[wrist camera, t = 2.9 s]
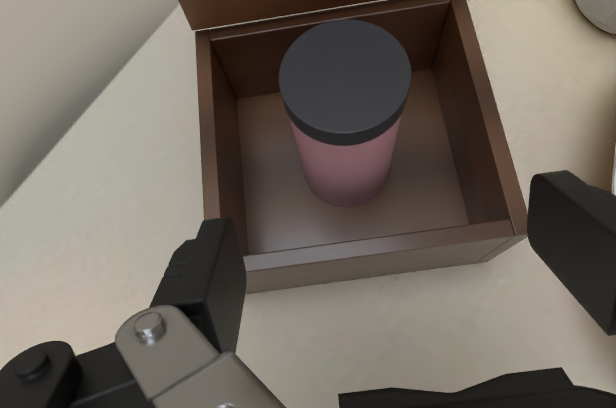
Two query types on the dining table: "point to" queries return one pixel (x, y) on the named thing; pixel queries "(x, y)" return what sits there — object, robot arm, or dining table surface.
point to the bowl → (614, 175)
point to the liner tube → (345, 106)
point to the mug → (600, 13)
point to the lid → (249, 10)
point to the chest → (403, 169)
